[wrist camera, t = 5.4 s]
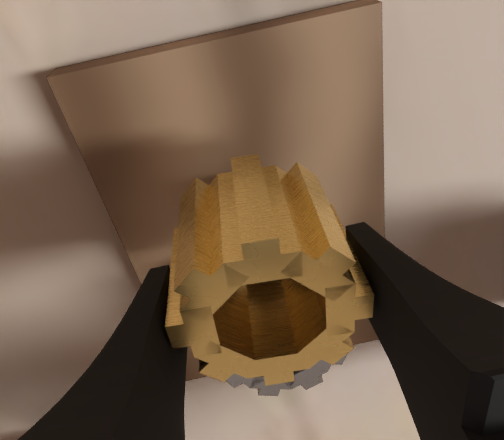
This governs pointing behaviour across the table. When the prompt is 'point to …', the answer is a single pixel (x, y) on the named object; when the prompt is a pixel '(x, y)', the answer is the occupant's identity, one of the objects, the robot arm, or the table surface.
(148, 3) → the table surface
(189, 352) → the board
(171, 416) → the robot arm
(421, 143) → the table surface
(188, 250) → the brass gear
